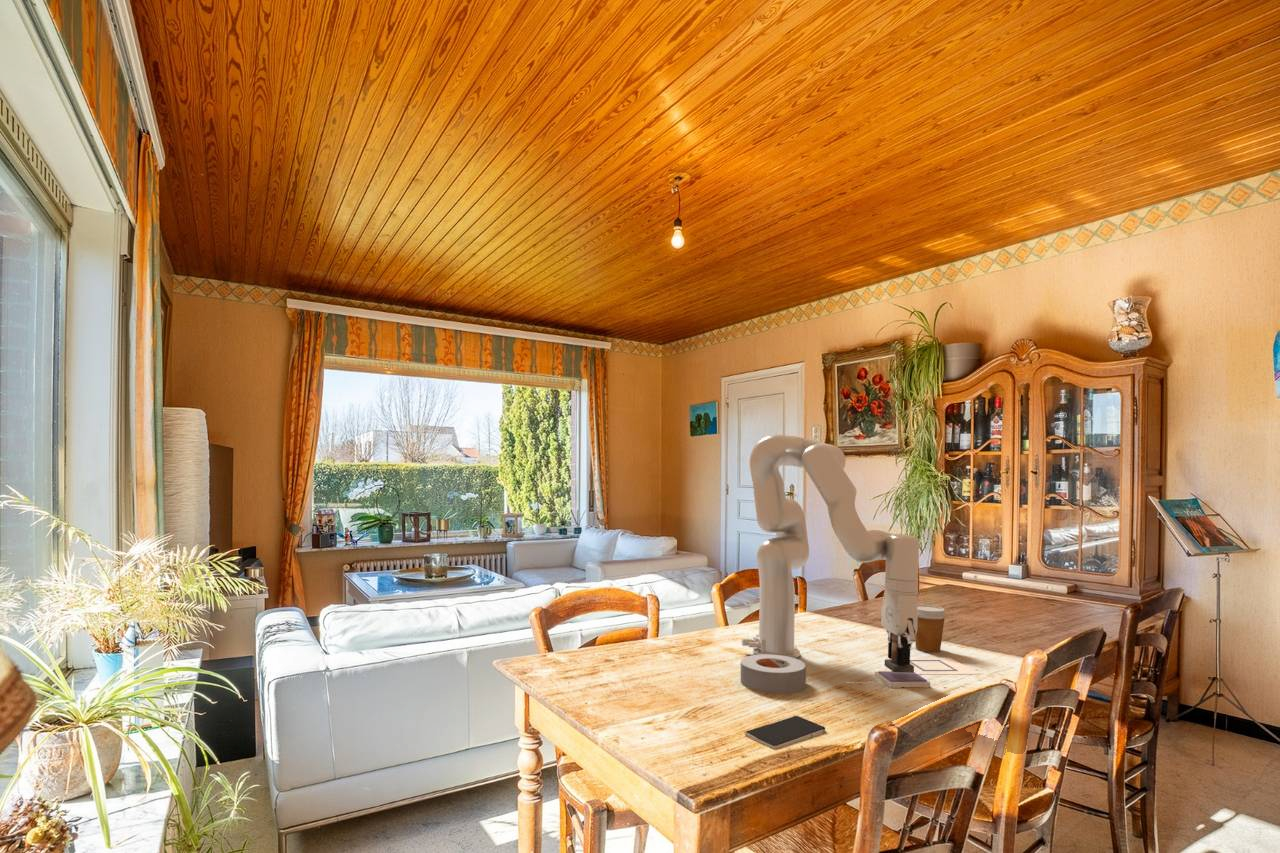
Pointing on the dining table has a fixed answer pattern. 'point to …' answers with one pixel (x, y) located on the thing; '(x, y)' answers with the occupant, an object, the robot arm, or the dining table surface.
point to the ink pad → (901, 679)
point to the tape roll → (773, 674)
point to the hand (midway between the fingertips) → (898, 660)
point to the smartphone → (785, 732)
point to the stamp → (892, 662)
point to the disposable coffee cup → (929, 628)
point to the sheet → (939, 666)
